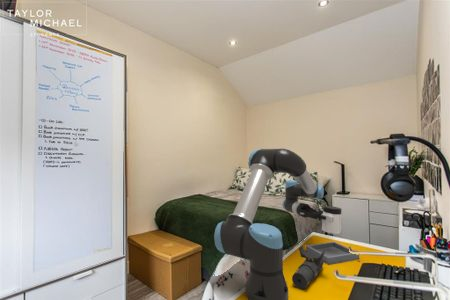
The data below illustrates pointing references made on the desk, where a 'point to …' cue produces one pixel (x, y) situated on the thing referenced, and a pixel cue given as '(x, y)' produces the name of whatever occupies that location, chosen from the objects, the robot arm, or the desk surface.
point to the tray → (332, 252)
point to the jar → (336, 225)
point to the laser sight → (307, 268)
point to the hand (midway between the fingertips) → (332, 219)
